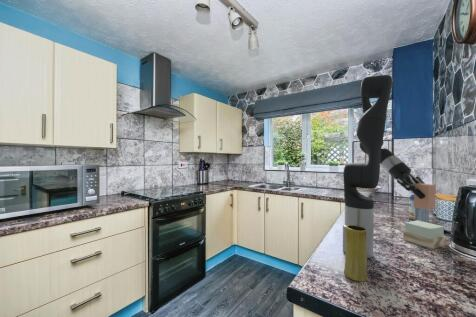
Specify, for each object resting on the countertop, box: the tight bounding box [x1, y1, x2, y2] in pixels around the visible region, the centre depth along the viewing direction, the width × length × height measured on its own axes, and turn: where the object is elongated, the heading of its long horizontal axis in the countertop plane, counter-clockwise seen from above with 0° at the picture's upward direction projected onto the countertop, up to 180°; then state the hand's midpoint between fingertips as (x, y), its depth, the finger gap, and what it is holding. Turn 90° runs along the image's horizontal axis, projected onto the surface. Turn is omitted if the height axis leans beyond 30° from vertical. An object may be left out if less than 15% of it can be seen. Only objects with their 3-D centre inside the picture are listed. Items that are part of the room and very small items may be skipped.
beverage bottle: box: [408, 191, 430, 223], centre depth 110 cm, size 8×8×20 cm
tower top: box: [404, 220, 445, 239], centre depth 86 cm, size 9×9×4 cm
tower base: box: [402, 230, 447, 250], centre depth 86 cm, size 10×10×4 cm
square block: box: [414, 183, 436, 211], centre depth 86 cm, size 5×5×10 cm
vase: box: [343, 225, 369, 282], centre depth 60 cm, size 6×6×14 cm
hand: (427, 197), depth 85 cm, fingers closed on square block, 5 cm apart
